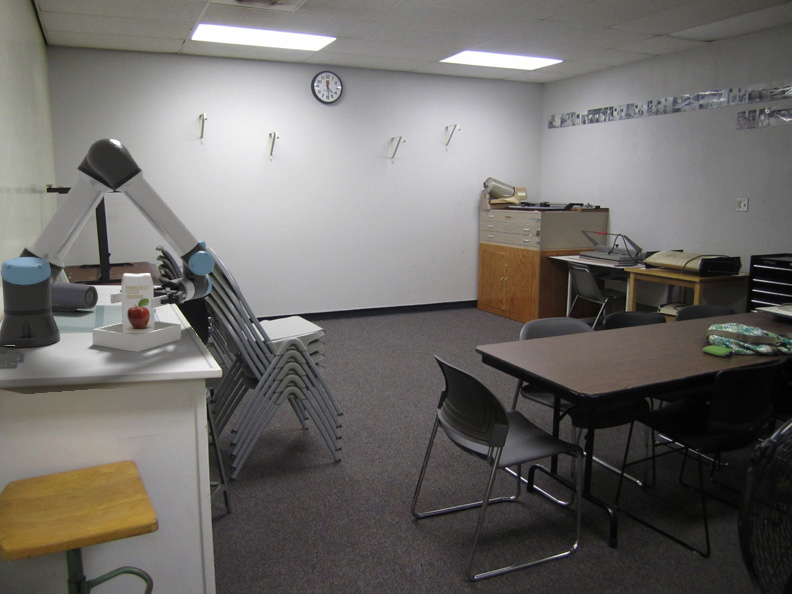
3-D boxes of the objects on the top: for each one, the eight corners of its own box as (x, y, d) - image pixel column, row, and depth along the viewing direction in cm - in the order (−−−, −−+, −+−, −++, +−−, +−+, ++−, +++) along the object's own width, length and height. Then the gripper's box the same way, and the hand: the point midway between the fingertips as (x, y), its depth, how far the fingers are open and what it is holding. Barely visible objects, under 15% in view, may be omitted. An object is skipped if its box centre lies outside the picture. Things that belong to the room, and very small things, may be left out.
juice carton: (122, 335, 179) (120, 272, 176) (153, 334, 182) (152, 272, 179) (122, 341, 172) (121, 276, 169) (155, 340, 176) (154, 275, 173)
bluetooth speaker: (99, 309, 219) (98, 282, 218) (84, 314, 210) (83, 286, 209) (41, 305, 222) (39, 278, 220) (23, 310, 212) (21, 282, 211)
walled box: (137, 352, 166) (136, 336, 166) (92, 344, 172) (92, 329, 171) (181, 338, 183) (181, 324, 182) (139, 332, 188) (139, 318, 188)
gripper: (211, 306, 190) (169, 318, 170) (143, 299, 197) (95, 309, 176) (211, 282, 189) (169, 292, 169) (143, 276, 196) (94, 284, 175)
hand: (131, 301), depth 173 cm, fingers open, 13 cm apart
